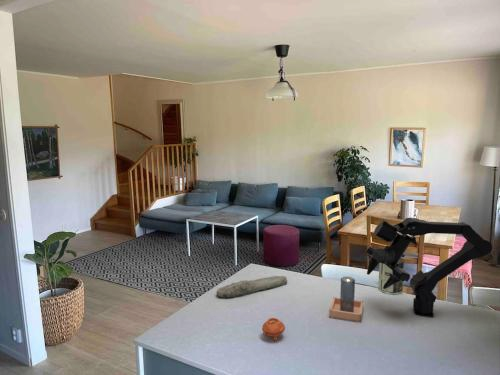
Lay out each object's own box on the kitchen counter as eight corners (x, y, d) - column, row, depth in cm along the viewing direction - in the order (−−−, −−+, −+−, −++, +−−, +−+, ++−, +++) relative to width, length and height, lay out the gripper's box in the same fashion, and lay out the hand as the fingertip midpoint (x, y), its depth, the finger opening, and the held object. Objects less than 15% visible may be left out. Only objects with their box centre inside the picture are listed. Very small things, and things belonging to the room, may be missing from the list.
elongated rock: (292, 288, 171) (280, 282, 180) (292, 277, 171) (280, 271, 180) (222, 301, 155) (212, 293, 164) (222, 289, 154) (213, 281, 163)
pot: (290, 339, 126) (285, 322, 125) (268, 347, 125) (263, 330, 123) (282, 327, 134) (278, 310, 132) (262, 334, 133) (258, 318, 131)
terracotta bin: (363, 308, 148) (363, 301, 148) (361, 322, 138) (361, 314, 137) (333, 304, 152) (333, 297, 152) (329, 317, 142) (329, 310, 141)
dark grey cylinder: (356, 311, 145) (357, 278, 143) (349, 316, 141) (350, 282, 139) (344, 306, 148) (345, 275, 146) (337, 311, 145) (338, 279, 143)
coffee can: (400, 285, 169) (401, 255, 167) (404, 295, 159) (406, 263, 157) (376, 284, 172) (377, 254, 169) (379, 293, 162) (380, 262, 159)
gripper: (368, 230, 146) (347, 263, 149) (403, 257, 130) (379, 293, 133) (385, 237, 152) (364, 269, 155) (420, 263, 136) (397, 298, 139)
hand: (375, 281), depth 145 cm, fingers open, 9 cm apart
